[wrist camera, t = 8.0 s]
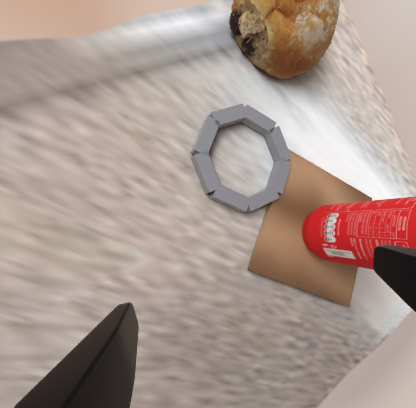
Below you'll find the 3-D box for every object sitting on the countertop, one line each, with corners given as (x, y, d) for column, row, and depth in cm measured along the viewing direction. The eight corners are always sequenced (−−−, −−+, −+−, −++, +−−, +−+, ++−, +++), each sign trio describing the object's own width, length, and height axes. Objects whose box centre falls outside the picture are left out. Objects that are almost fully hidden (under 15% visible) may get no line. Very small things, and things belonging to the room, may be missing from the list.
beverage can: (310, 195, 22) (505, 166, 10) (345, 222, 23) (552, 222, 12) (290, 242, 20) (486, 265, 9) (328, 268, 22) (541, 316, 10)
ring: (266, 223, 21) (273, 223, 20) (178, 183, 18) (180, 181, 17) (292, 140, 22) (299, 136, 21) (215, 93, 20) (219, 87, 19)
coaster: (343, 305, 23) (349, 307, 22) (247, 269, 19) (251, 270, 19) (366, 198, 25) (372, 198, 25) (284, 151, 22) (288, 149, 21)
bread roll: (276, 106, 27) (353, 76, 21) (218, 61, 19) (313, -4, 14) (275, 31, 28) (349, -18, 22) (221, -39, 20) (310, -138, 15)
